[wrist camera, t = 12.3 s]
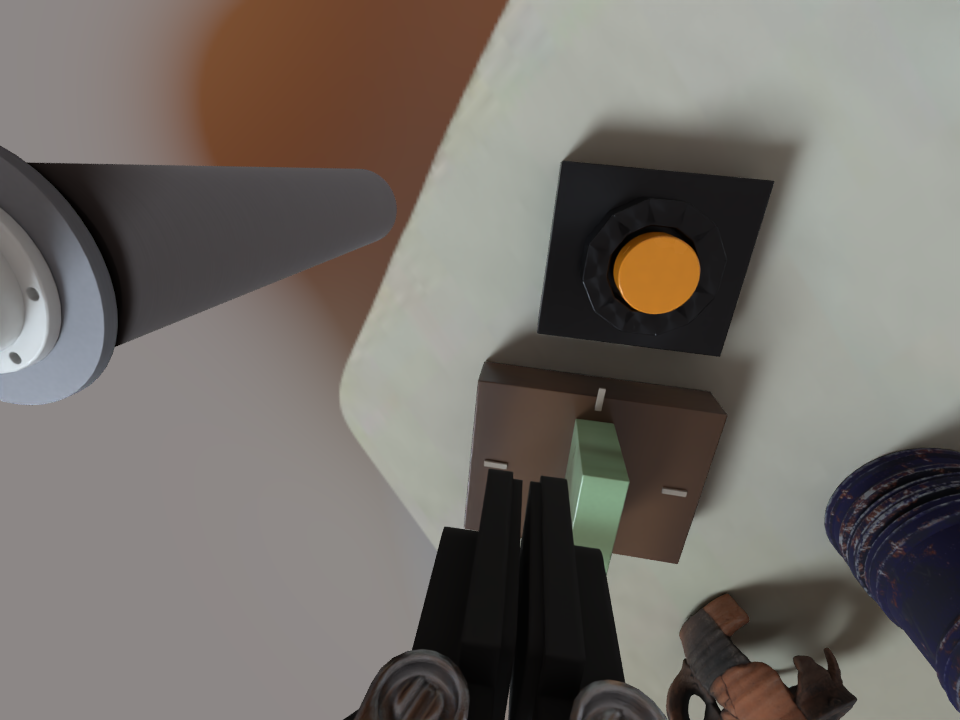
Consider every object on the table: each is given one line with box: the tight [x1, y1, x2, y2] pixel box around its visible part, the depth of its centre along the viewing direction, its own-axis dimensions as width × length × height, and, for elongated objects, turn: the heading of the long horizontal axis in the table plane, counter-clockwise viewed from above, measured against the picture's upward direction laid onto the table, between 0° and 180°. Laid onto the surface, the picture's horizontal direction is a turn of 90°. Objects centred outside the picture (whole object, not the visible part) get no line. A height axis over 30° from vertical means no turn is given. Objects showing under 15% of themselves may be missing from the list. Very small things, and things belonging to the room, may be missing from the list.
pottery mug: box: [666, 594, 857, 720], centre depth 34 cm, size 12×10×8 cm
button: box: [613, 232, 700, 314], centre depth 22 cm, size 4×4×2 cm
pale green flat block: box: [565, 419, 629, 575], centre depth 26 cm, size 8×2×6 cm, turn 175°
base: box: [464, 362, 727, 564], centre depth 30 cm, size 14×12×3 cm
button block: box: [537, 161, 774, 357], centre depth 24 cm, size 10×9×4 cm
